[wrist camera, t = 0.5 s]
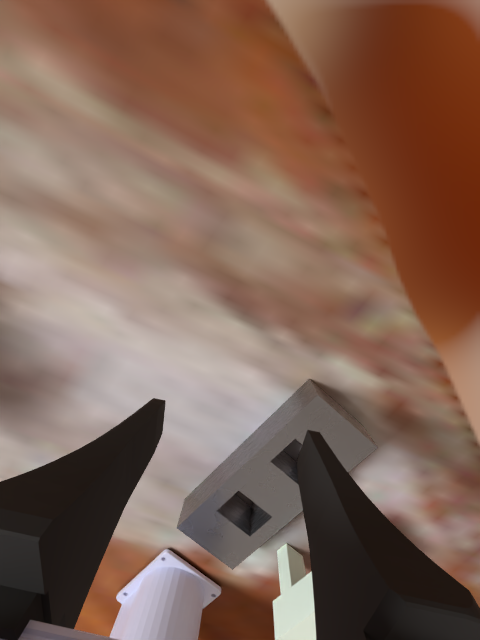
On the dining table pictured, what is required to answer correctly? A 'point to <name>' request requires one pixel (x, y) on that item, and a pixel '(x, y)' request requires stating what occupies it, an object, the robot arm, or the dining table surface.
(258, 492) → the grey block with holes
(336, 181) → the dining table surface
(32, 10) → the dining table surface
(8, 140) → the dining table surface
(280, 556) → the notched cream block
